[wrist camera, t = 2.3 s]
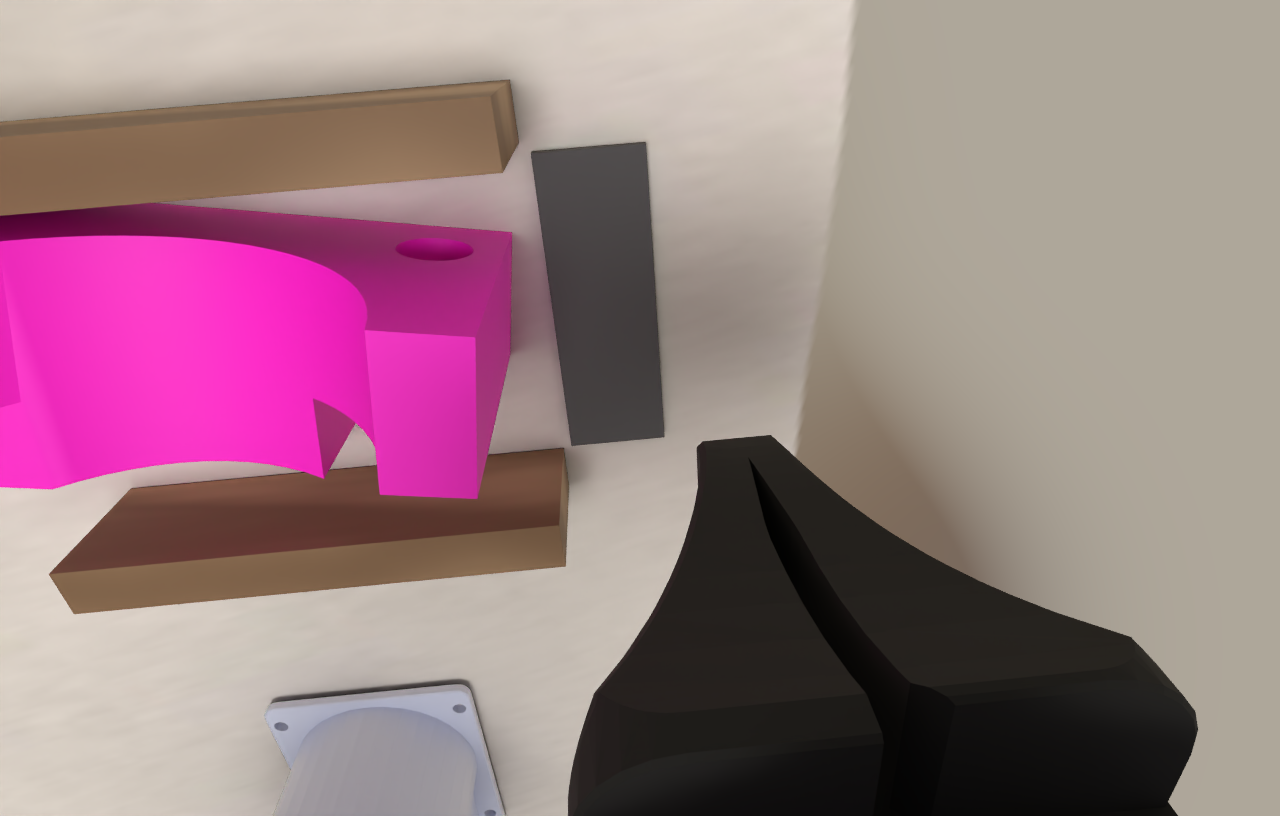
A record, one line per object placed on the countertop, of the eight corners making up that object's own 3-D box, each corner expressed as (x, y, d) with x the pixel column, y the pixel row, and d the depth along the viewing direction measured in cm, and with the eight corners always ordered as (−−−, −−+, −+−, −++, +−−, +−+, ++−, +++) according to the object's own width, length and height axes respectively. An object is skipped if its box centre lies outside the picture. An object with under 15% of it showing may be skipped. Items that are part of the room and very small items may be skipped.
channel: (568, 485, 24) (565, 566, 20) (149, 525, 24) (73, 614, 20) (509, 79, 18) (490, 96, 14) (-57, 126, 18) (-217, 154, 14)
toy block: (4, 395, 21) (-253, 564, 15) (-75, 182, 18) (-442, 276, 12) (510, 422, 23) (478, 586, 16) (512, 230, 20) (475, 337, 13)
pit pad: (663, 432, 23) (664, 437, 23) (571, 440, 23) (571, 445, 23) (645, 141, 19) (645, 143, 18) (531, 151, 19) (530, 153, 18)
